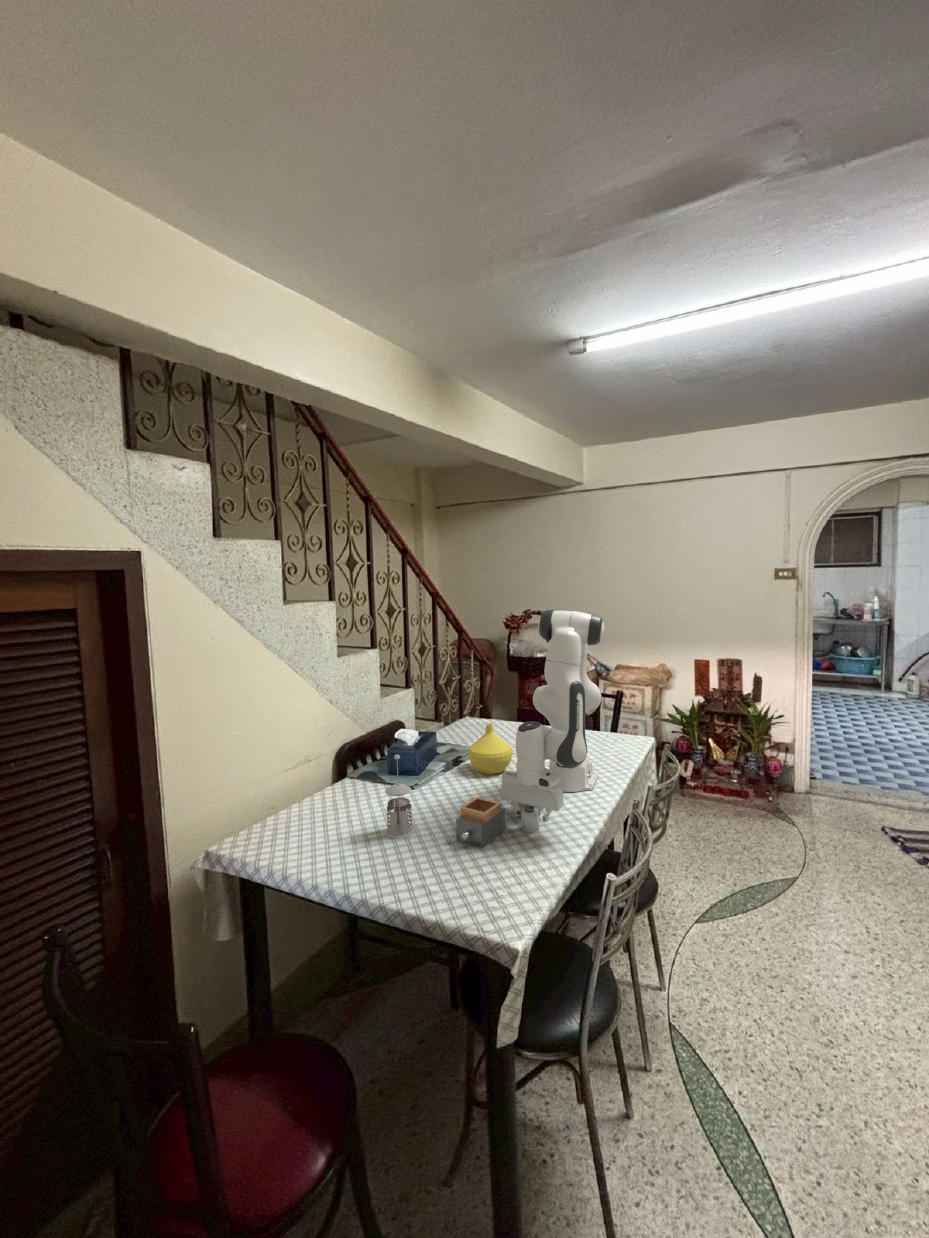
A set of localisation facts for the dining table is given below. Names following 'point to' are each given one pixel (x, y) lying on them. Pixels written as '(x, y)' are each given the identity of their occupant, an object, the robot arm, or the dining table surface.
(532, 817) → the light grey rounded bottle
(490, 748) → the vase
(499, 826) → the grey box with knob
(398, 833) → the french press
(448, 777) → the dining table surface
